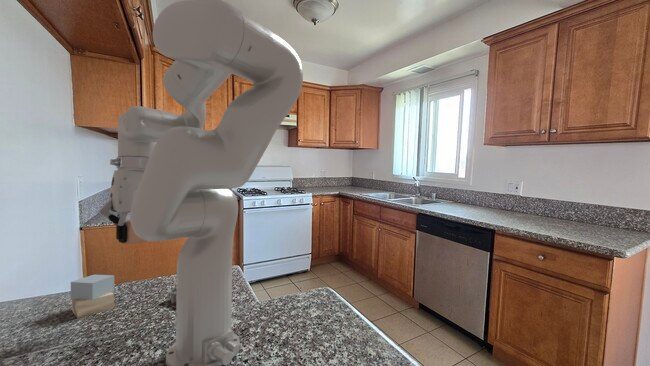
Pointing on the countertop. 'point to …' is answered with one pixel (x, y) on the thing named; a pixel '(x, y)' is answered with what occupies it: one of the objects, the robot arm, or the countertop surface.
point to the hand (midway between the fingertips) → (136, 239)
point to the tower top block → (92, 287)
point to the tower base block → (92, 305)
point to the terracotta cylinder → (132, 235)
